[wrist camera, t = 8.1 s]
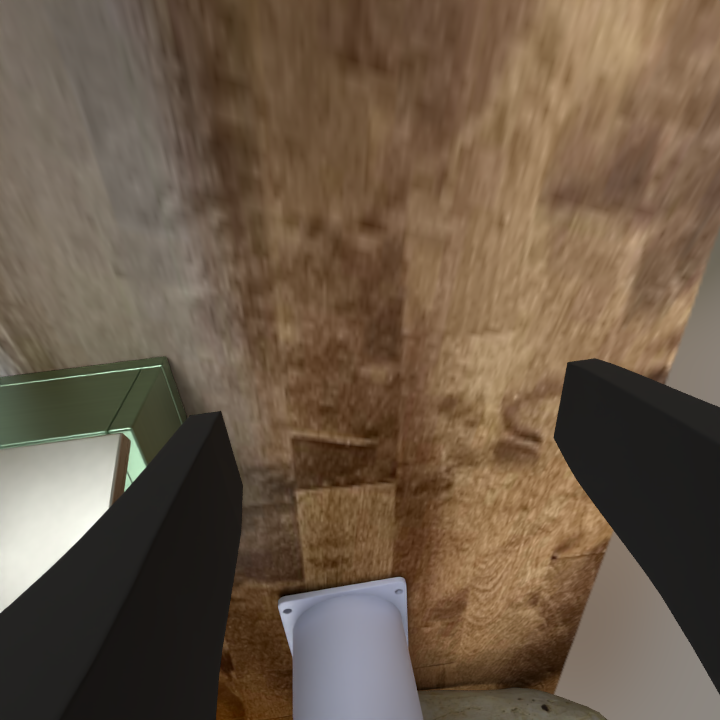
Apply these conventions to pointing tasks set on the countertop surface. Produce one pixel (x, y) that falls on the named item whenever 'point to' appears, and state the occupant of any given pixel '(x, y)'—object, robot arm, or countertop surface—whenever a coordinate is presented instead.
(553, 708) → the jawbone
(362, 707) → the robot arm
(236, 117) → the countertop surface
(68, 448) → the bin lid
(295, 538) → the countertop surface
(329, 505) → the countertop surface
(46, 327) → the countertop surface
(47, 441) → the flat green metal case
